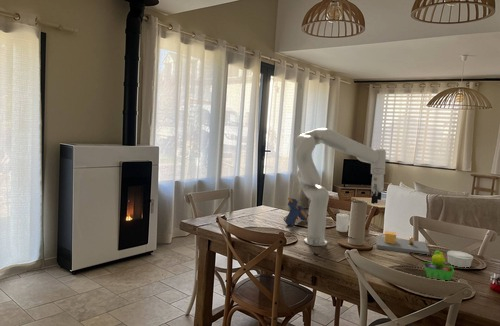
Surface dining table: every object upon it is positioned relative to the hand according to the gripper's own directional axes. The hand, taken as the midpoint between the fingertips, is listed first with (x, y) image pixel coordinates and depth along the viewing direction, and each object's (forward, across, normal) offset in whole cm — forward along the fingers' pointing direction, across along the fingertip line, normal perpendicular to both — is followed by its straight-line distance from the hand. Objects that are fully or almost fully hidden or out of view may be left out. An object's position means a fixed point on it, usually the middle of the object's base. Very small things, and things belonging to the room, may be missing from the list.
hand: (376, 201), depth 209 cm
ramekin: (+25, -11, -42) cm, 50 cm away
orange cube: (+22, -1, -8) cm, 23 cm away
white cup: (+23, +10, +22) cm, 34 cm away
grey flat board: (+24, 0, -14) cm, 28 cm away
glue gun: (+22, +8, +51) cm, 56 cm away
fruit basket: (+24, -36, -35) cm, 55 cm away
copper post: (+22, +1, -19) cm, 29 cm away
